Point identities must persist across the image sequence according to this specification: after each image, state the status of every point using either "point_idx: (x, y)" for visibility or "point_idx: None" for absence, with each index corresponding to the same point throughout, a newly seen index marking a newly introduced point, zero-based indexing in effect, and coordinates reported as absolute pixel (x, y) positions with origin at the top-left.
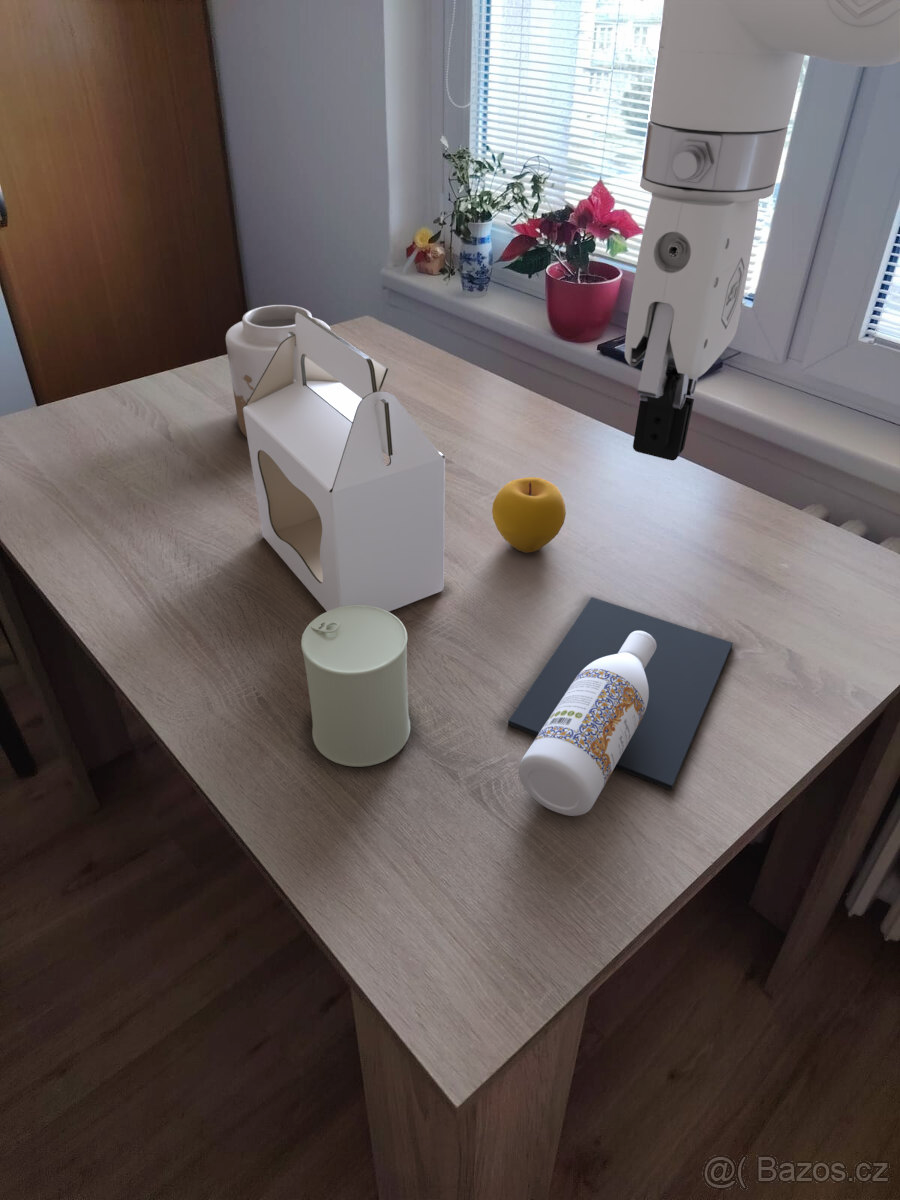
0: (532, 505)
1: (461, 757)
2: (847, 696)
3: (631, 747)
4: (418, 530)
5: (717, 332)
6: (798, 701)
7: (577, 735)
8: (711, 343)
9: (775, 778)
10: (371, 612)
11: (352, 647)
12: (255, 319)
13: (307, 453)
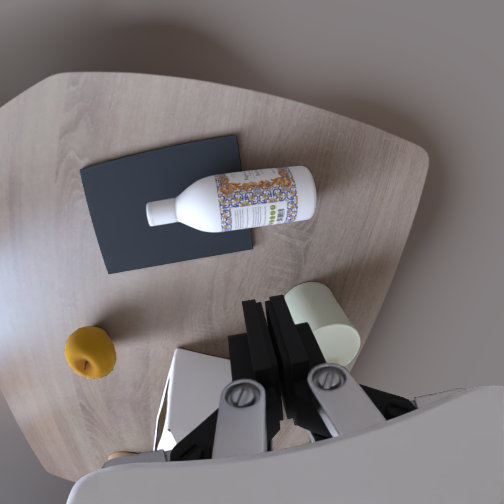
0: (96, 356)
1: (292, 253)
2: (79, 86)
3: (222, 172)
4: (194, 392)
5: (468, 498)
6: (102, 106)
7: (289, 198)
8: (497, 458)
9: (181, 86)
10: None
11: (337, 346)
12: None
13: None
